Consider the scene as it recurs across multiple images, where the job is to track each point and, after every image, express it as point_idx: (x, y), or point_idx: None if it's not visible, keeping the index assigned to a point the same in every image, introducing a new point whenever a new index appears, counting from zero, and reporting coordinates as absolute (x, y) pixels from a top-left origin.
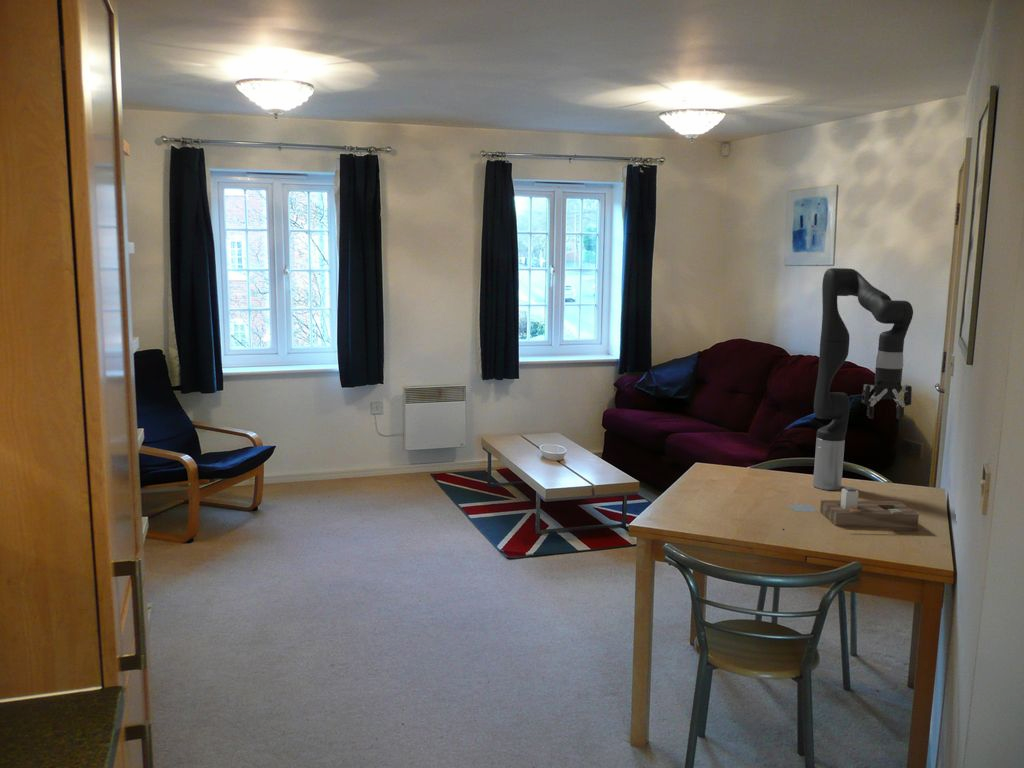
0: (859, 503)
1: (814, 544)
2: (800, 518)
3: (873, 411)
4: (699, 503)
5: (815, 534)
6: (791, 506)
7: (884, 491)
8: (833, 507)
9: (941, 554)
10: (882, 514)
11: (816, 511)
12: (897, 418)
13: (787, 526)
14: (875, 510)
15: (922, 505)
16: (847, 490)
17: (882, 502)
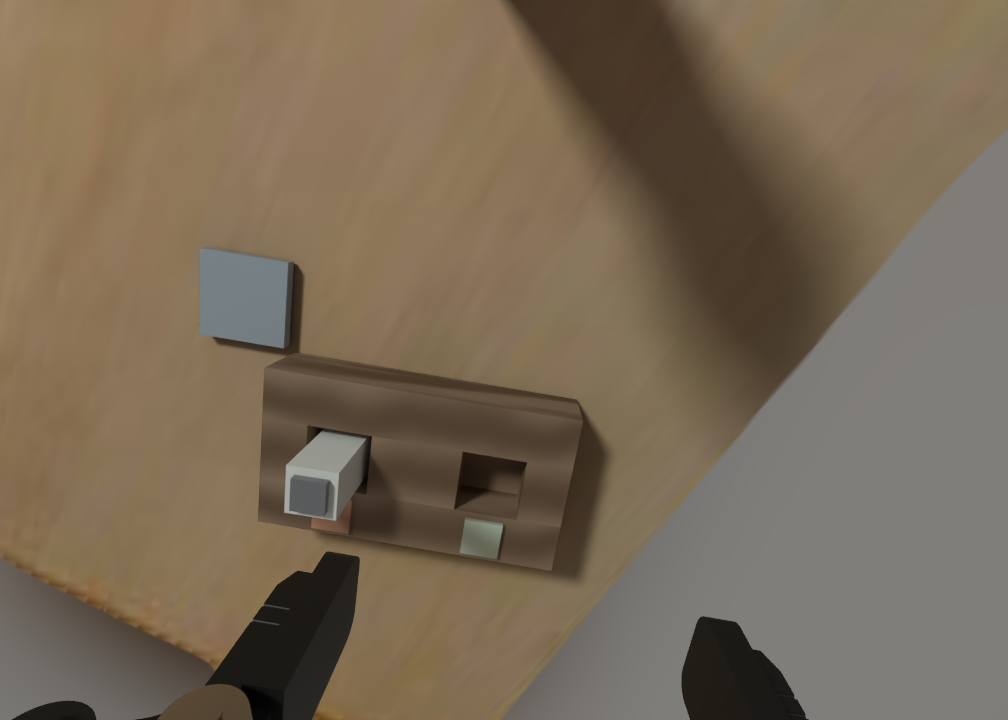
0: (400, 429)
1: (176, 593)
2: (216, 369)
3: (306, 713)
4: None
5: (209, 520)
6: (205, 274)
7: (777, 15)
8: (272, 467)
9: (493, 696)
10: (422, 547)
11: (279, 344)
12: (691, 642)
13: (145, 443)
14: (415, 515)
15: (790, 258)
16: (291, 505)
17: (502, 428)
